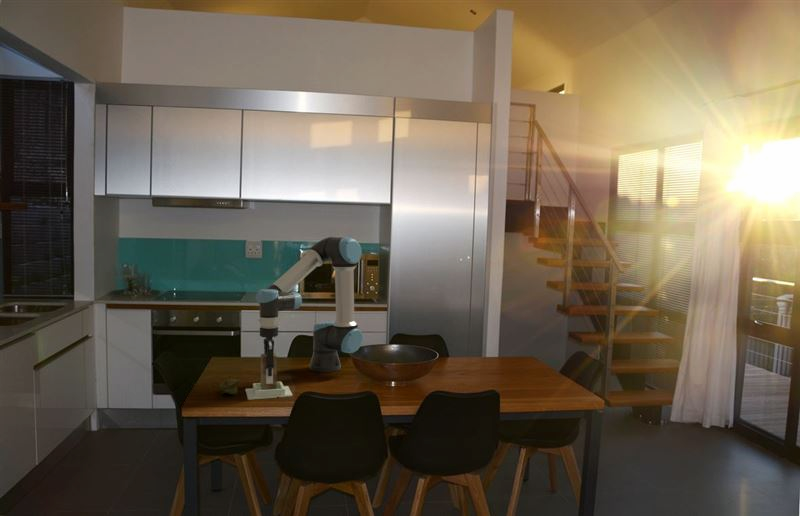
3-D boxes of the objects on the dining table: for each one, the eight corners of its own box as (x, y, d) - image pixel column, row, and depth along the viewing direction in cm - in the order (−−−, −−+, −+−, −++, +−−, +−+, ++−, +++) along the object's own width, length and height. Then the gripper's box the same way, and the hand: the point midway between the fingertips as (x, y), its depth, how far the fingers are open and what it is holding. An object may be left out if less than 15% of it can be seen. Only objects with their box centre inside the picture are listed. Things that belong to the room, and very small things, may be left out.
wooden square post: (275, 385, 261) (275, 353, 260) (276, 389, 256) (276, 356, 256) (260, 386, 259) (260, 354, 258) (261, 390, 255) (261, 356, 254)
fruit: (248, 394, 257) (248, 378, 257) (221, 399, 249) (221, 383, 248) (235, 388, 265) (235, 373, 265) (208, 393, 257) (208, 377, 257)
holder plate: (287, 387, 268) (288, 380, 267) (292, 396, 254) (292, 389, 254) (245, 390, 262) (245, 383, 262) (248, 399, 249) (248, 392, 248)
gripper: (257, 323, 264) (257, 376, 265) (261, 331, 246) (261, 388, 248) (275, 322, 266) (275, 375, 267) (280, 330, 249) (280, 386, 250)
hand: (268, 381), depth 258 cm, fingers closed on wooden square post, 5 cm apart
